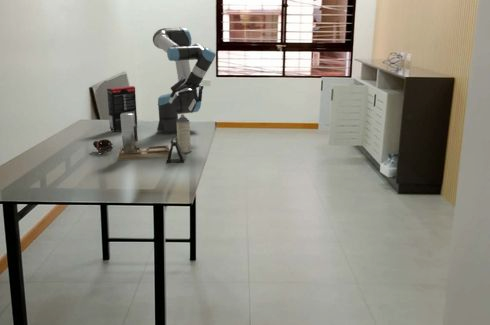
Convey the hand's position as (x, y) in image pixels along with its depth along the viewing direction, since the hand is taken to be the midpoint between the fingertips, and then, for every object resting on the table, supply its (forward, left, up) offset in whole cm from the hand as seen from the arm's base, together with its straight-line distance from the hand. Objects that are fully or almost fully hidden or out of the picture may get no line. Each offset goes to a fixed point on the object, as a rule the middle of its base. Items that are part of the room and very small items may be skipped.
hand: (179, 106), depth 301 cm
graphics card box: (-41, -34, -20) cm, 56 cm away
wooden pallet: (+31, -22, -20) cm, 43 cm away
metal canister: (+31, -29, -17) cm, 46 cm away
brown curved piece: (+17, -43, -20) cm, 51 cm away
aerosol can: (+29, -1, -20) cm, 35 cm away
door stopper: (+46, -7, -20) cm, 51 cm away
